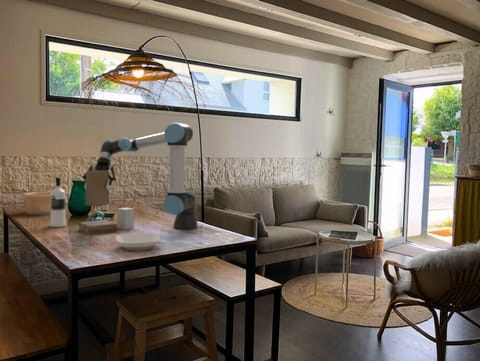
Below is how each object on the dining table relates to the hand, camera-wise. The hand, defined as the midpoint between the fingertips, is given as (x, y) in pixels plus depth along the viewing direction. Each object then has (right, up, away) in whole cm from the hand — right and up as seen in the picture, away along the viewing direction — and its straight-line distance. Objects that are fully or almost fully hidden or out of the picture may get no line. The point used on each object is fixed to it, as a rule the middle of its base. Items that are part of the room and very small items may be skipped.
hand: (96, 188), depth 240 cm
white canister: (+13, -25, +15) cm, 32 cm away
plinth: (-1, -25, +5) cm, 26 cm away
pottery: (-60, -19, +58) cm, 86 cm away
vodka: (-28, -24, +14) cm, 40 cm away
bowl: (+32, -29, -33) cm, 55 cm away
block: (0, -10, +3) cm, 10 cm away
